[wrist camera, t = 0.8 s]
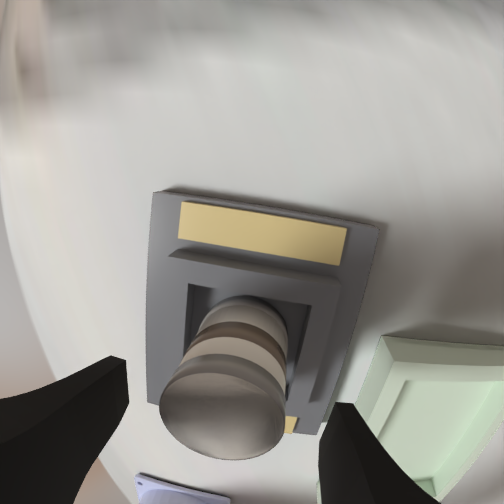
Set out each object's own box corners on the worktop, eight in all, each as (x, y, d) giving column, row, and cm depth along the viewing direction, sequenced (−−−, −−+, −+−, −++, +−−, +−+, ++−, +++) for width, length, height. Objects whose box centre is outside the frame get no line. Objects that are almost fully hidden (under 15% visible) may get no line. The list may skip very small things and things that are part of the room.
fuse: (279, 376, 15) (271, 468, 10) (199, 361, 16) (160, 444, 10) (296, 304, 14) (298, 385, 9) (206, 287, 15) (158, 357, 9)
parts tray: (432, 480, 18) (440, 501, 16) (316, 484, 19) (317, 509, 16) (514, 346, 15) (533, 365, 12) (381, 335, 15) (394, 361, 13)
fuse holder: (315, 424, 17) (317, 449, 15) (153, 392, 18) (140, 414, 16) (373, 225, 14) (387, 234, 12) (161, 190, 15) (141, 194, 13)
